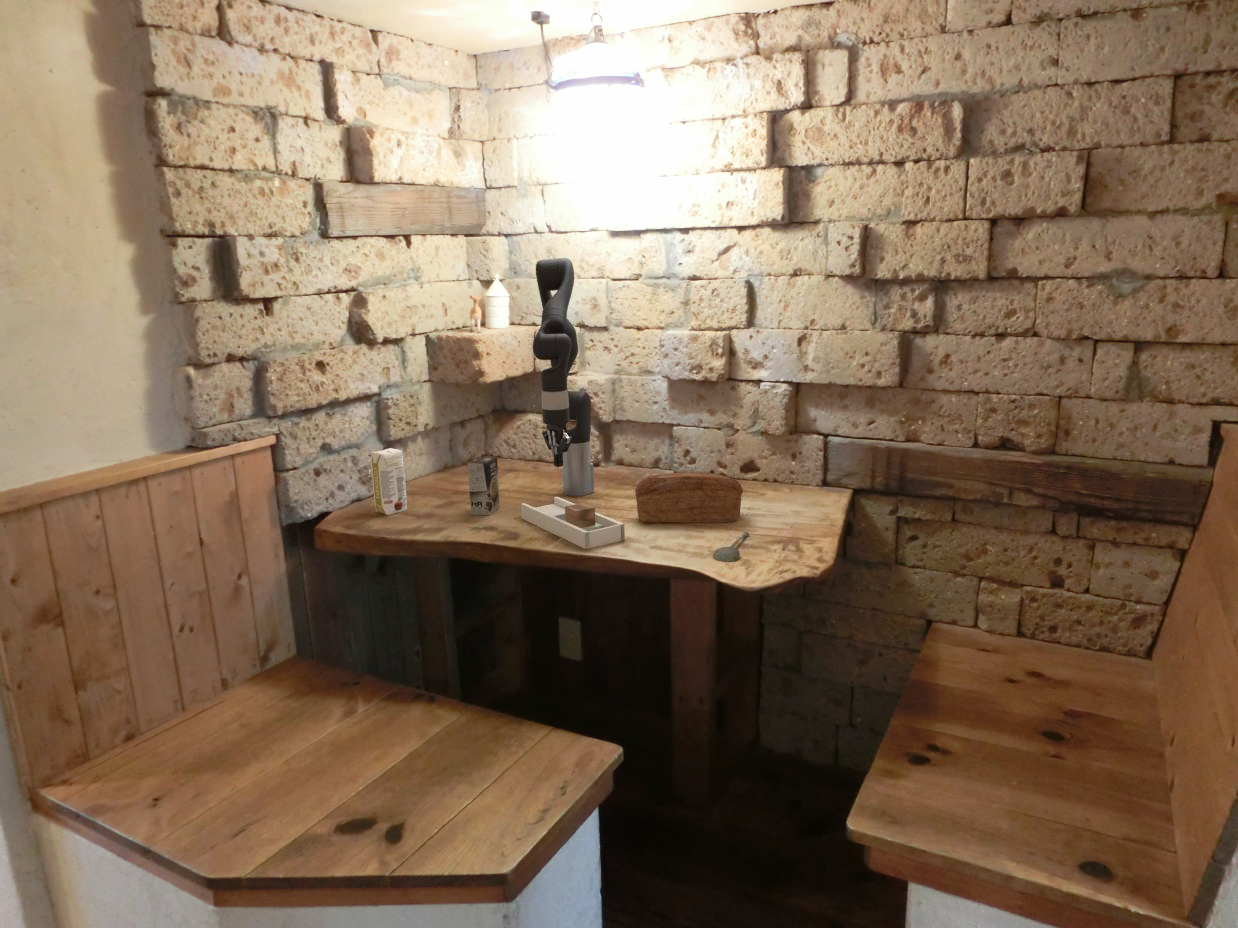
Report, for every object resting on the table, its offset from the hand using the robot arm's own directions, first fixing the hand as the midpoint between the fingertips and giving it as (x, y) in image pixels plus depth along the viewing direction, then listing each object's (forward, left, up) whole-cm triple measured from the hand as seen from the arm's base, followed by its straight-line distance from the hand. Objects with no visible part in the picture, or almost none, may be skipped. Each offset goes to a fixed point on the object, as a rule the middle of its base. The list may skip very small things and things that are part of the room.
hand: (558, 466), depth 241 cm
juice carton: (+34, -43, -17) cm, 58 cm away
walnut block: (0, +11, -15) cm, 18 cm away
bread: (-32, +19, -17) cm, 41 cm away
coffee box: (+11, -25, -17) cm, 33 cm away
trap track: (0, +6, -17) cm, 18 cm away
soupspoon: (-24, +47, -18) cm, 56 cm away
